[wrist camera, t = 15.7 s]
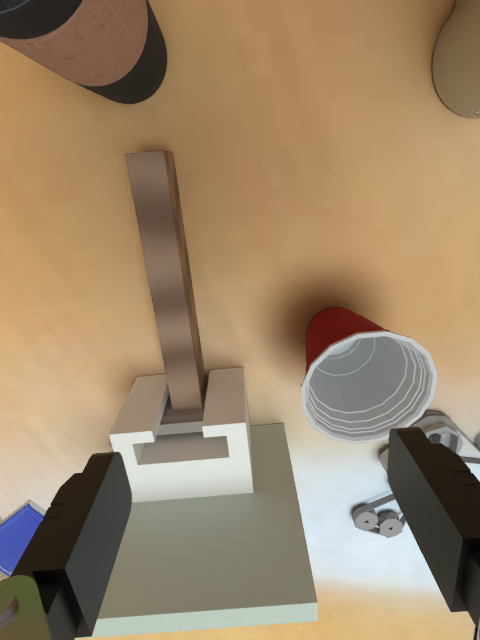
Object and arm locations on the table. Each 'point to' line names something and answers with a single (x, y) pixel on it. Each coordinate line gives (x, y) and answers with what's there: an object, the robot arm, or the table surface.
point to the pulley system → (364, 517)
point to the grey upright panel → (206, 520)
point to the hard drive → (18, 534)
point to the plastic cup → (363, 378)
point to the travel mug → (91, 43)
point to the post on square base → (170, 287)
